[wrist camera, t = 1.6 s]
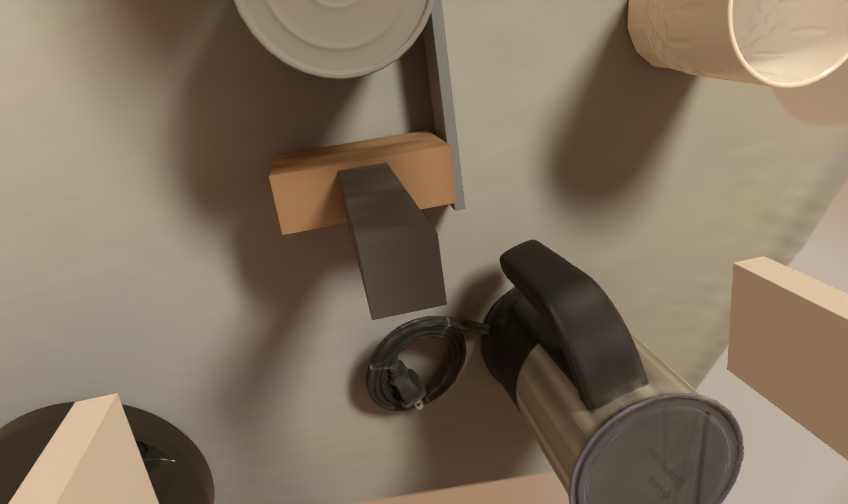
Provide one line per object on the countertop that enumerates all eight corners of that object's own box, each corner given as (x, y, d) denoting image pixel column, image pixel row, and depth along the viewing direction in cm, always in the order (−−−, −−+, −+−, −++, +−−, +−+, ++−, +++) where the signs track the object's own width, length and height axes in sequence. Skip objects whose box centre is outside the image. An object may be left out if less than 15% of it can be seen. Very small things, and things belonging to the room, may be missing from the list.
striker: (286, 205, 34) (267, 350, 18) (275, 155, 33) (243, 260, 17) (433, 178, 36) (546, 292, 19) (427, 130, 34) (540, 204, 18)
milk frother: (625, 333, 43) (777, 467, 29) (466, 469, 44) (540, 659, 30) (511, 197, 38) (631, 282, 24) (335, 356, 39) (351, 524, 25)
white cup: (619, -57, 34) (739, -98, 24) (740, -63, 35) (898, -104, 26) (614, 84, 36) (719, 95, 27) (726, 73, 38) (864, 80, 28)
